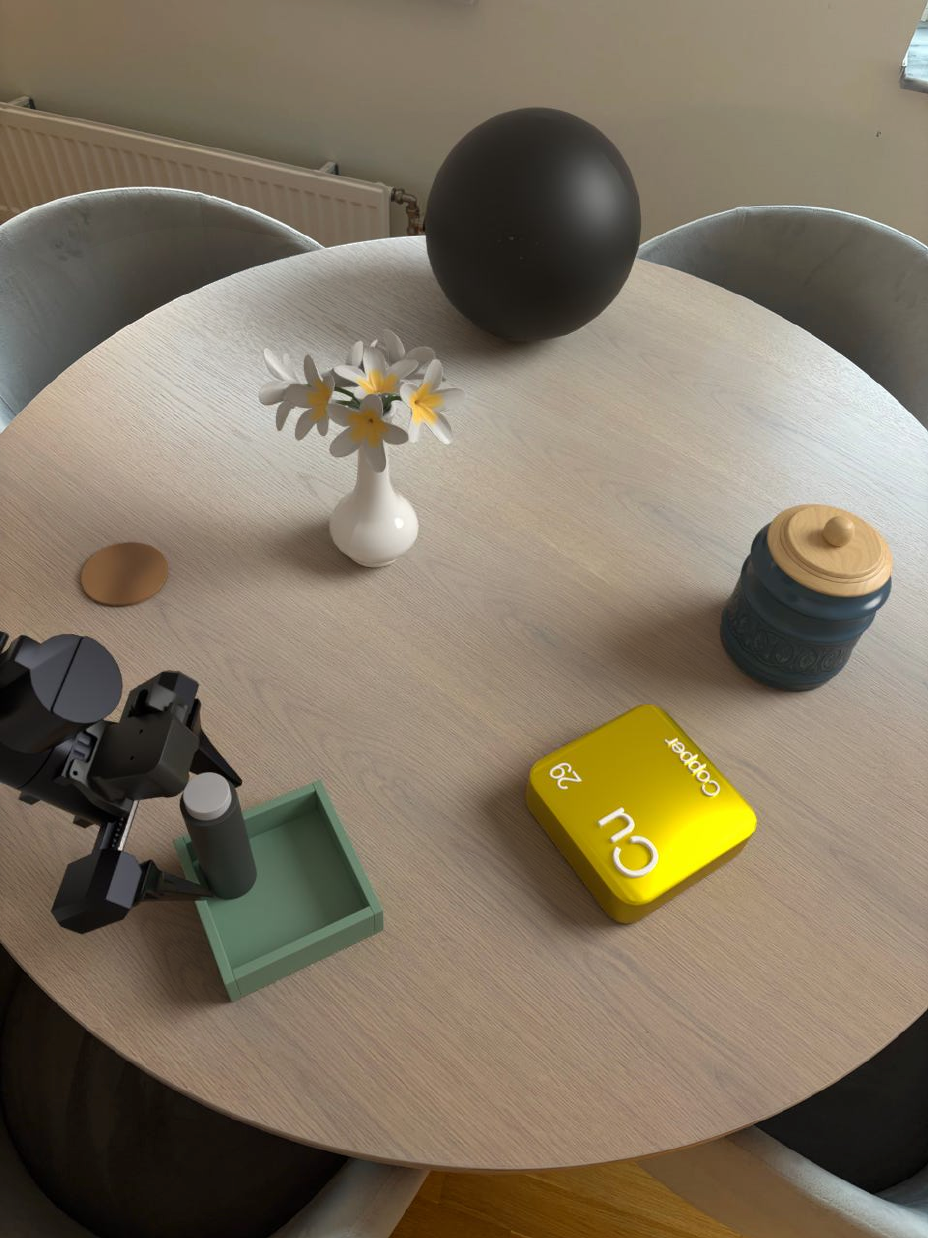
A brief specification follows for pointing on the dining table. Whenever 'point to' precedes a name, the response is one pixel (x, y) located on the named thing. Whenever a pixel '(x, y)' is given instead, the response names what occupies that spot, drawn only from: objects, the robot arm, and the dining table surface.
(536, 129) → the ball
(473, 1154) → the dining table surface
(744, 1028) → the dining table surface
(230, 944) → the box
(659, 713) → the element tile
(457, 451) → the dining table surface
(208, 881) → the salt mill
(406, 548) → the flower vase
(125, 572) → the coaster
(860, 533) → the canister
